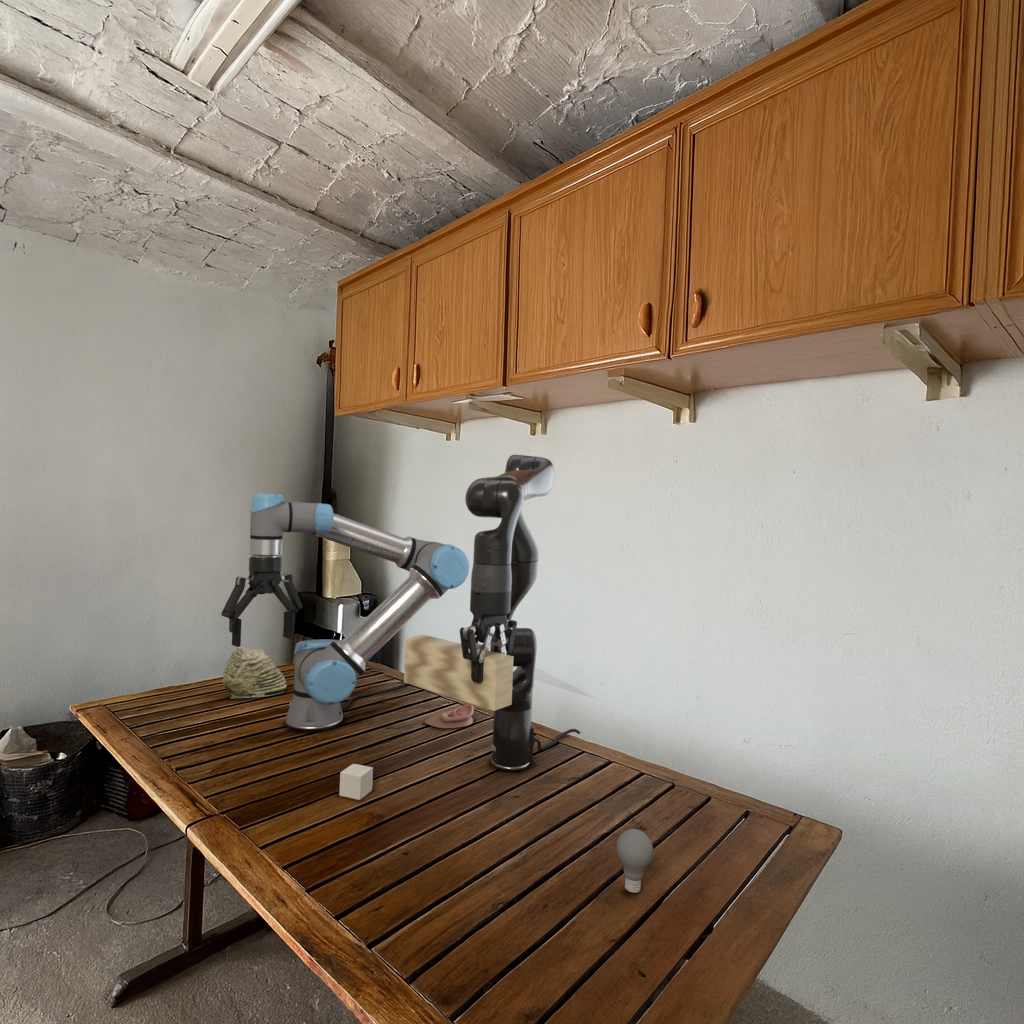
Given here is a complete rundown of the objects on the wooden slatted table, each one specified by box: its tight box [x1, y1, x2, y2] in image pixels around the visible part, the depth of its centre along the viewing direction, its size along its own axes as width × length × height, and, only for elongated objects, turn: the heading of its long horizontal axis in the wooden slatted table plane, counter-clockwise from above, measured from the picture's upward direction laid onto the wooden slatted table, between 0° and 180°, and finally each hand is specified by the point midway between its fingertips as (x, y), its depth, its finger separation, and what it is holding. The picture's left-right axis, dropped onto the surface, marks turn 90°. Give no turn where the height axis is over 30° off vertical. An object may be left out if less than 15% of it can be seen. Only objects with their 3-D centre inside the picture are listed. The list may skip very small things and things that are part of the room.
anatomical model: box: [424, 704, 475, 729], centre depth 181 cm, size 13×4×12 cm
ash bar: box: [403, 634, 514, 712], centre depth 122 cm, size 24×5×9 cm, turn 51°
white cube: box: [338, 763, 374, 801], centre depth 136 cm, size 5×5×5 cm
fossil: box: [222, 646, 288, 699], centre depth 198 cm, size 9×18×15 cm, turn 132°
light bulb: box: [615, 828, 654, 894], centre depth 106 cm, size 6×6×10 cm
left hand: (262, 641), depth 157 cm, fingers open, 13 cm apart
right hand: (487, 678), depth 117 cm, fingers closed on ash bar, 5 cm apart
